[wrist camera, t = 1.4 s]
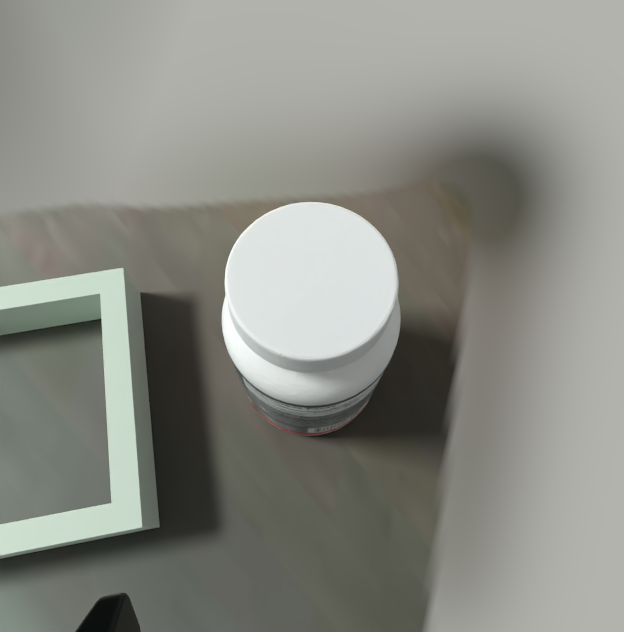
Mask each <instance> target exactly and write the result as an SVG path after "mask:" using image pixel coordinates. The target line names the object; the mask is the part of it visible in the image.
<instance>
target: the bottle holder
mask: <svg viewBox="0 0 624 632" xmlns="http://www.w3.org/2000/svg"><path fill="white" fill-rule="evenodd" d="M96 319H101V320H102V338H103V356H104V374H105V393H106V411H107V429H108V447H109V466H110V484H111V502H112V503H110V504H104V505H99V506H94V507H89V508H84V509H78V510H73V511H68V512H63V513H58V514H53V515H47V516H42V517H37V518H32V519H27V520H22V521H16V522H11V523H6V524H1V525H0V559H2V558H7V557H12V556H17V555H22V554H27V553H32V552H37V551H42V550H47V549H52V548H57V547H62V546H67V545H72V544H77V543H82V542H87V541H92V540H97V539H102V538H107V537H113V536H118V535H123V534H128V533H133V532H138V531H143V530H148V529H153V528H158V527H160V525H159V513H158V501H157V489H156V477H155V465H154V453H153V441H152V429H151V417H150V405H149V393H148V381H147V369H146V357H145V345H144V333H143V321H142V309H141V297H140V291H139V290H138V288H137V287H136V285H135V284H134V282H133V281H132V280H131V278H130V277H129V275H128V274H127V272H126V271H125V269H124V268H119V269H112V270H106V271H100V272H93V273H87V274H81V275H74V276H68V277H62V278H55V279H49V280H43V281H36V282H30V283H24V284H17V285H11V286H5V287H0V335H6V334H12V333H18V332H24V331H30V330H36V329H42V328H48V327H54V326H60V325H66V324H72V323H78V322H84V321H90V320H96Z"/></svg>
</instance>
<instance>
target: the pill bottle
mask: <svg viewBox="0 0 624 632" xmlns="http://www.w3.org/2000/svg"><path fill="white" fill-rule="evenodd" d="M398 288H399V279H398V270H397V266H396V261H395V259H394V256H393V253H392V251H391V249H390V247H389V246H388V244H387V242H386V240H385V239H384V238H383V236H382V235H381V234H380V233H379V231H378V230H377V229H376V228H375V227H374V226H373V225H371V224H370V223H369V222H368V221H366V220H365V219H364V218H362V217H361V216H359V215H357V214H356V213H354V212H352V211H350V210H348V209H345V208H343V207H339V206H336V205H332V204H327V203H319V202H305V203H295V204H289V205H286V206H283V207H280V208H277V209H275V210H273V211H271V212H269V213H267V214H265V215H263V216H262V217H260V218H259V219H257V220H256V221H254V222H253V223H252V224H251V225H250V226H249V227H248V228H247V229H246V230H245V231H244V232H243V233H242V234H241V236H240V237H239V238H238V240H237V241H236V243H235V245H234V246H233V248H232V251H231V253H230V256H229V258H228V262H227V265H226V270H225V292H226V296H225V299H224V304H223V309H222V329H223V335H224V340H225V344H226V347H227V350H228V352H229V355H230V358H231V360H232V362H233V364H234V366H235V368H236V371H237V373H238V375H239V377H240V380H241V382H242V384H243V387H244V389H245V391H246V393H247V396H248V398H249V400H250V401H251V403H252V405H253V406H254V408H255V409H256V410H257V411H258V412H259V414H260V415H261V416H262V417H263V418H265V419H266V420H267V421H268V422H270V423H271V424H272V425H274V426H276V427H277V428H280V429H282V430H284V431H286V432H289V433H293V434H298V435H310V436H311V435H321V434H326V433H329V432H332V431H335V430H337V429H339V428H341V427H343V426H345V425H346V424H348V423H349V422H351V421H352V420H353V419H354V418H356V417H357V416H358V415H359V413H360V412H361V411H362V410H363V409H364V407H365V406H366V404H367V403H368V401H369V399H370V397H371V395H372V394H373V392H374V390H375V388H376V386H377V384H378V382H379V380H380V379H381V377H382V375H383V373H384V371H385V370H386V368H387V366H388V364H389V362H390V359H391V357H392V355H393V352H394V350H395V347H396V344H397V341H398V337H399V332H400V320H401V317H400V306H399V302H398V297H397V296H398Z"/></svg>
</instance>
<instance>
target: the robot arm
mask: <svg viewBox="0 0 624 632" xmlns="http://www.w3.org/2000/svg"><path fill="white" fill-rule="evenodd" d="M75 632H140V626H139V623H138V620H137V617H136V615H135V612H134V609H133V607H132V604H131V601H130V598H129V596H128V595H127V594H126V593H118V594H113V595H108V596H104V597H101V598H100V599H99V600H98V601H97V602H96V603H95V605H94V606H93V608H92V609H91V610H90V612H89V613H88V615H87V616H86V617H85V619H84V620H83V622H82V623H81V624H80V626H79V627H78V629H77V630H76V631H75Z"/></svg>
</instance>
